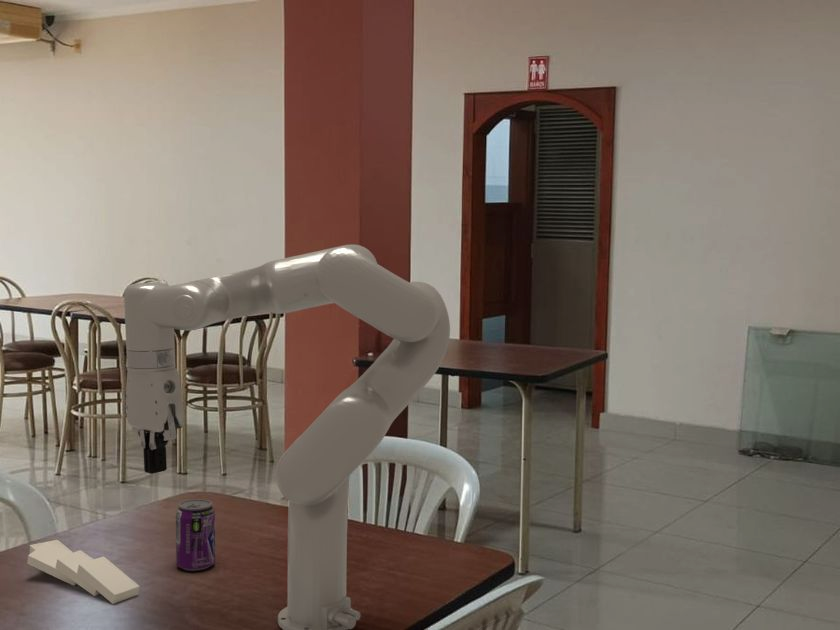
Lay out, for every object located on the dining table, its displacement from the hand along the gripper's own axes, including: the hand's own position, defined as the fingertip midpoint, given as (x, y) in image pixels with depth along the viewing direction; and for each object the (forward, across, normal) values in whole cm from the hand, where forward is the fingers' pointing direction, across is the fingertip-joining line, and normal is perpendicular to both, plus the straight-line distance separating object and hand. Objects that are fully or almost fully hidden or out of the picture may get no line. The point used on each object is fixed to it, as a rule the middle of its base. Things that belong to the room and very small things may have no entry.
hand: (155, 471), depth 167 cm
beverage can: (+24, +14, -17) cm, 33 cm away
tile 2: (+23, +15, +1) cm, 27 cm away
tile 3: (+22, +22, +1) cm, 31 cm away
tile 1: (+23, +9, +1) cm, 25 cm away
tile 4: (+21, +28, +2) cm, 36 cm away
